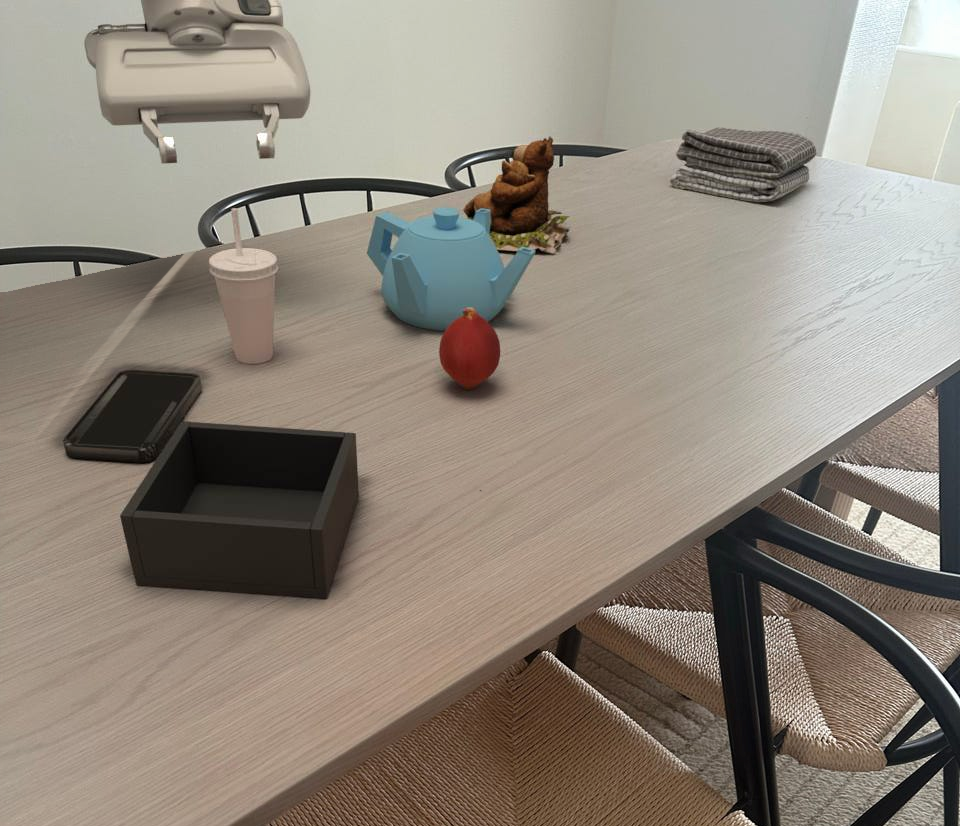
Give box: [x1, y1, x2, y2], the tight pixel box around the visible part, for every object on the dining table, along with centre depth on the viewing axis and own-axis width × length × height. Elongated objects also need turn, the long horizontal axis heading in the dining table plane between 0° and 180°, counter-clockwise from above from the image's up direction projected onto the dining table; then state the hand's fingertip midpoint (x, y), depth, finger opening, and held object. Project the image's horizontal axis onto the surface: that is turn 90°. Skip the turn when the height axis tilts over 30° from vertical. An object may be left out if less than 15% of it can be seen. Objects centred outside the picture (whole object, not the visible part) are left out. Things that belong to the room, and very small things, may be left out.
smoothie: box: [208, 207, 279, 365], centre depth 95 cm, size 6×6×14 cm
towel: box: [669, 127, 818, 203], centre depth 151 cm, size 15×18×8 cm
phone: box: [62, 368, 203, 463], centre depth 88 cm, size 8×1×15 cm
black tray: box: [119, 420, 360, 600], centre depth 73 cm, size 14×14×6 cm
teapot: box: [366, 206, 536, 332], centre depth 107 cm, size 15×15×11 cm
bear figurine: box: [462, 135, 571, 254], centre depth 127 cm, size 14×15×12 cm
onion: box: [438, 307, 501, 390], centre depth 93 cm, size 6×6×8 cm
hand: (219, 157), depth 96 cm, fingers open, 8 cm apart
